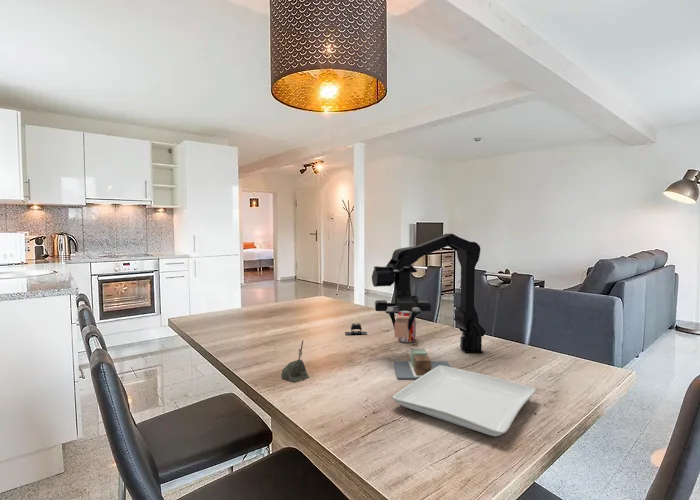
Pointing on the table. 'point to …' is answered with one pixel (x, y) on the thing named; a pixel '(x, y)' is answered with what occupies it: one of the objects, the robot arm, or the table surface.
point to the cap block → (401, 326)
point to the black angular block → (355, 331)
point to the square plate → (466, 399)
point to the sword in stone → (295, 370)
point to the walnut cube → (422, 364)
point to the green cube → (417, 354)
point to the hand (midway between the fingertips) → (402, 330)
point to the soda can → (412, 331)
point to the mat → (412, 369)
